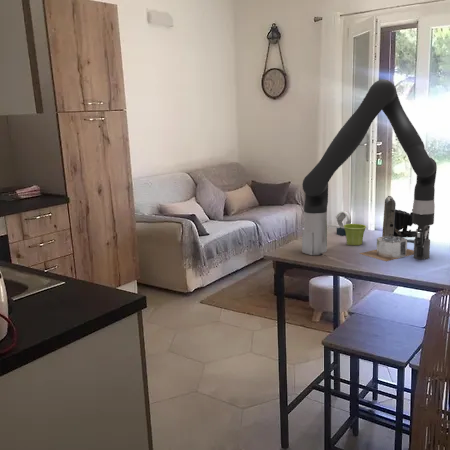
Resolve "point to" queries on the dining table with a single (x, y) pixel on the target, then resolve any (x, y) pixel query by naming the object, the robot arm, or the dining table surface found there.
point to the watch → (340, 218)
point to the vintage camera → (396, 220)
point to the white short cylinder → (392, 246)
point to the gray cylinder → (425, 250)
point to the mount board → (375, 255)
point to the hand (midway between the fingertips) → (421, 254)
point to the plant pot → (354, 233)
